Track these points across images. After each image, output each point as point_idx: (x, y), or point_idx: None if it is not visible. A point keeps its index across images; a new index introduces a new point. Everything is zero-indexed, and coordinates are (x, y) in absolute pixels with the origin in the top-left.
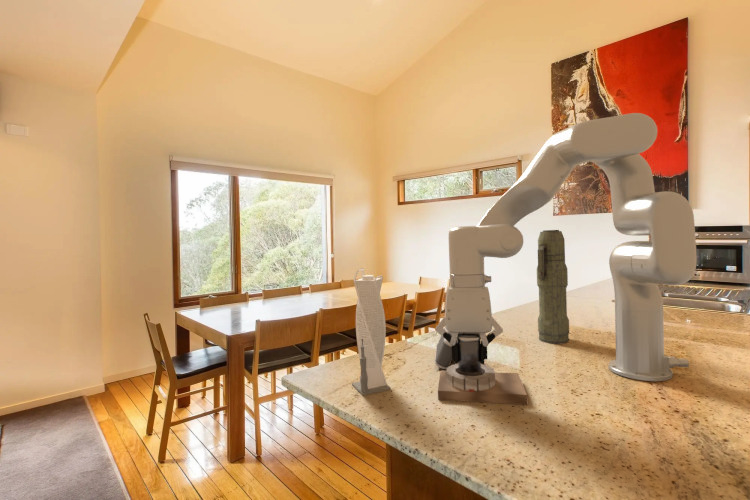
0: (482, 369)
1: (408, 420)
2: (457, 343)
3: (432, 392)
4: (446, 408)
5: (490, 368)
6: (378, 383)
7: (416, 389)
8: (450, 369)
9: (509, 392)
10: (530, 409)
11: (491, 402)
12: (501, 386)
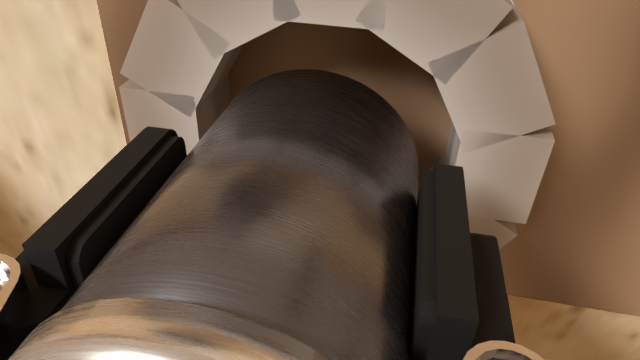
0: (445, 100)
1: None
2: (78, 280)
3: (119, 117)
4: None
5: (529, 110)
6: None
7: (20, 75)
8: (156, 121)
9: (557, 285)
10: (620, 314)
11: None
12: (544, 207)
